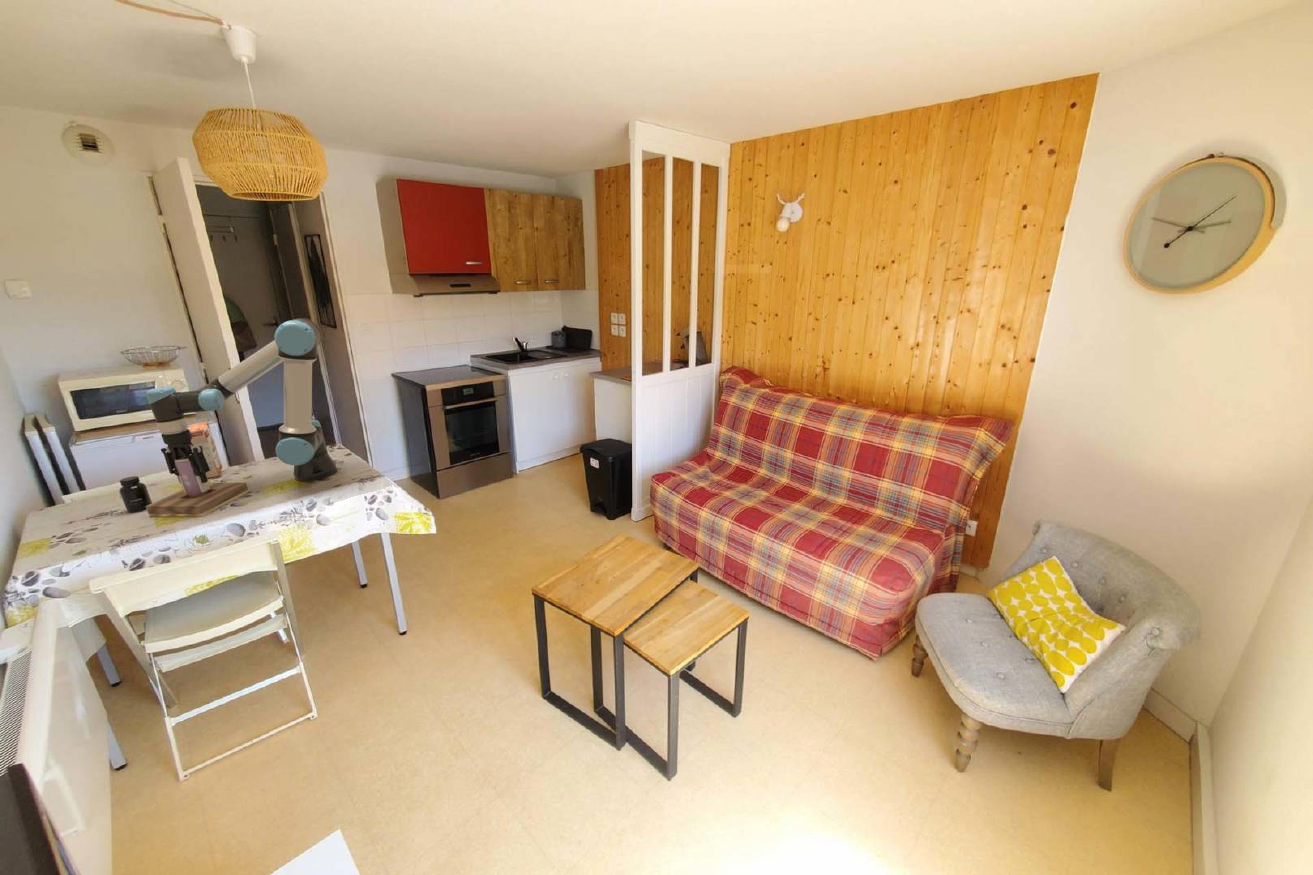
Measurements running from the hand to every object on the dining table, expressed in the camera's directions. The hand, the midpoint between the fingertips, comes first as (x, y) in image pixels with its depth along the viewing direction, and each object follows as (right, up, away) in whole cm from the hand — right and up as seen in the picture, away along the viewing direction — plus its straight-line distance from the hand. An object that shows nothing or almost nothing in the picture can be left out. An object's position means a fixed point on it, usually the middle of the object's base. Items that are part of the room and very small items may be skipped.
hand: (197, 490), depth 185 cm
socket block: (0, -5, +2) cm, 5 cm away
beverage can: (0, -2, +1) cm, 2 cm away
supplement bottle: (-20, -7, 0) cm, 21 cm away
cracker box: (-21, +4, +31) cm, 37 cm away
